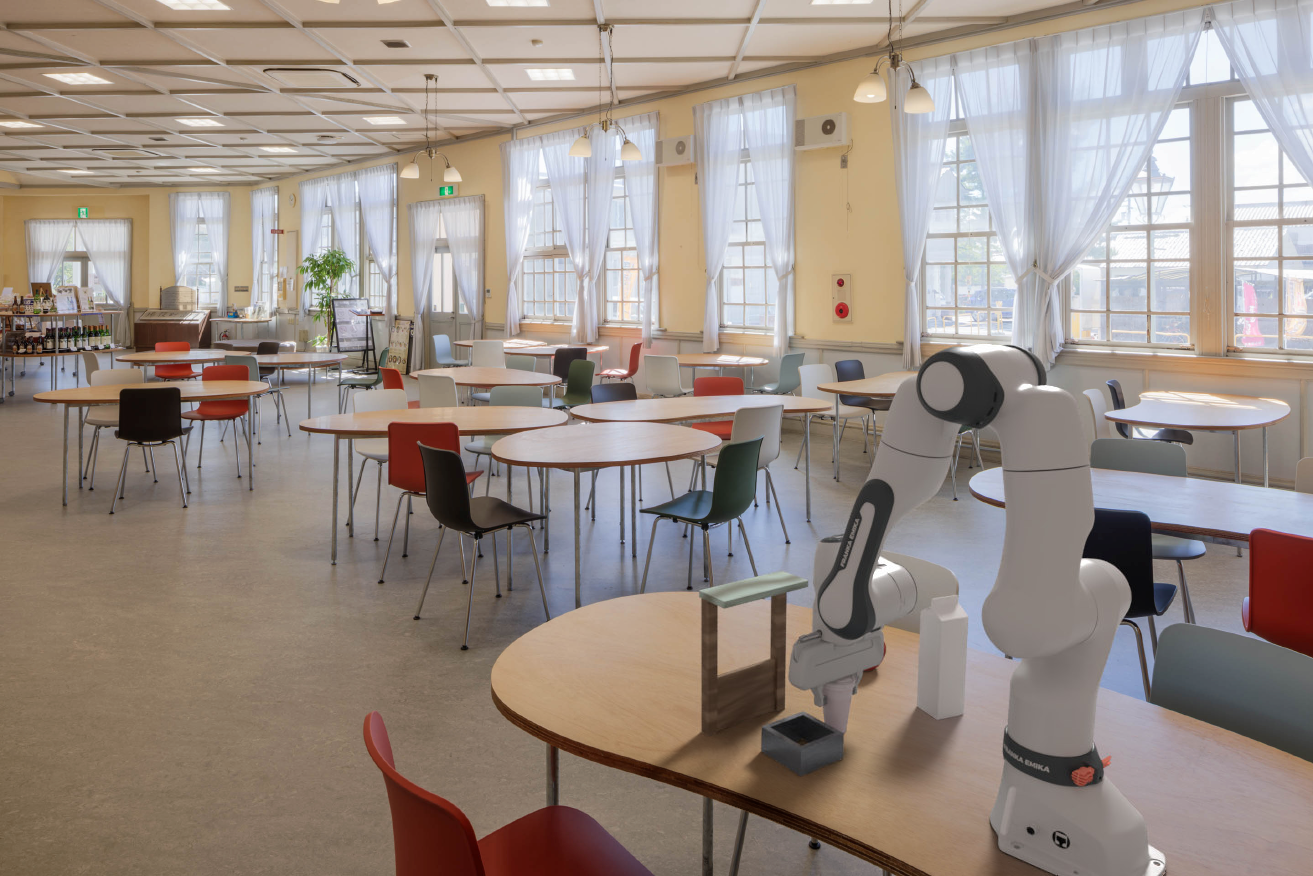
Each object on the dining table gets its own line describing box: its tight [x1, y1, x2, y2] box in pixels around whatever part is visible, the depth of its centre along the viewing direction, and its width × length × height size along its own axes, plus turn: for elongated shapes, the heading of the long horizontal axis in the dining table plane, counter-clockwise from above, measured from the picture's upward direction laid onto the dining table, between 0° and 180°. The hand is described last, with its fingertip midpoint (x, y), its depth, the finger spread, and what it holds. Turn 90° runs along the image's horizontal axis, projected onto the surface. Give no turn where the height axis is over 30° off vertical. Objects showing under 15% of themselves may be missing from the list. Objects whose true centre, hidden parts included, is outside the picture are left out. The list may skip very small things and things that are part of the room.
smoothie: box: [821, 675, 855, 734], centre depth 153 cm, size 6×6×14 cm
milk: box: [916, 594, 969, 721], centre depth 159 cm, size 6×6×22 cm
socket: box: [760, 710, 845, 777], centre depth 145 cm, size 10×10×4 cm
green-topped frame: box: [698, 570, 809, 737], centre depth 154 cm, size 7×19×26 cm, turn 124°
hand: (835, 699), depth 153 cm, fingers closed on smoothie, 6 cm apart
